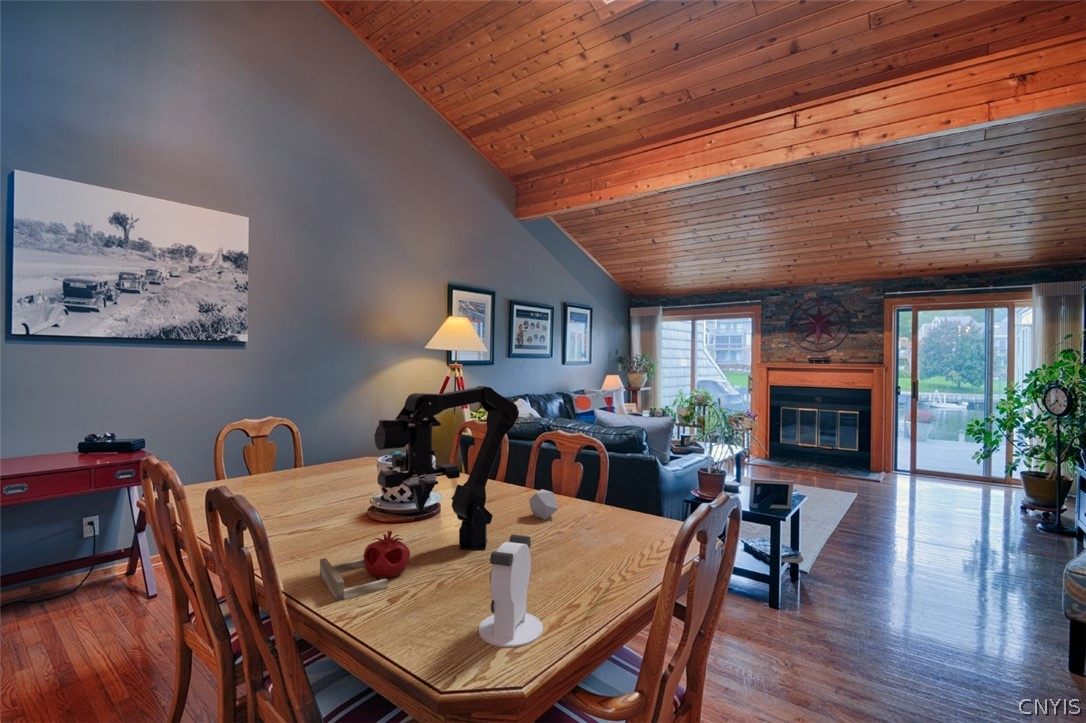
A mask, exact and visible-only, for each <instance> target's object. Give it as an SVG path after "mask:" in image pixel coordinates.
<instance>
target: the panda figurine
mask: <svg viewBox="0 0 1086 723" xmlns="http://www.w3.org/2000/svg"><path fill="white" fill-rule="evenodd" d="M531 545H532V541H531V537H530V535H522V534H521V535H520V534H510V536H509V541H505V542H504V543H503V542H502V544H500V546H499V547H498V548H497V550H496V551H494V550H493V551H492V552H491V554H490V557H489V563H490V564H491V568H490V573H489V584H490V593H491V594H490V595H491V598H492V600H491V604H490V612H491V613H493V614H491V615H489V616H488V617H486V618H484V620H483V621H481V622H480V624H479V627H478V633H479V634H478V635H479V637H480V638H481V639H482V640H483V641H485V643H487V644H489V645H493V646H496V647H499V648H500V647H501V648H517V647H523V646H526V645H529V644H532V643H534V642H535V641H537V640H538V639H539V638H540V637H541V635H542V633H543V631H544V625H543V622H542V621H541V620H540V619H539V618H538V617H536V615H533V614H531V613H528V612H527V595H528V594H527V592H528V590H527V589H528V586H529V582H530V577H531V569H532V558H531V550H530V549H531Z"/></svg>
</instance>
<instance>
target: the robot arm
mask: <svg viewBox="0 0 1086 723" xmlns="http://www.w3.org/2000/svg"><path fill="white" fill-rule="evenodd" d="M476 403H479V405H480V406H481V407H482V409H483V410H484V411H485V412H487V414H486V418H485V419H486V432H485V434H484V437H483V440H482V443H481V445H480V448H479V449H478V452H477V455H476V457H475V460H474V463H473V465H472V469H471V470H470V474H469V477H468V478H467V480H466V482H464V483H463V485H462V484H459V483H458V484H457V485H456V487H455V491H454V494H453V495H452V497H451V498H450V500H451V501H452V502H451V508H452V510H453V513H455V514H456V517H457V519H458V520H459V521H461V525H460V526H459V530H458V531H459V532H458V535H459V536H458V537H459V539H458V544H459V549H460V550H485V549H487V544H488V537H487V535H488V534H487V533H488V532H487V531H488V530H487V528H488V527H487V525H490V524H491V523H492V520H493V514H492V513H491V512H490V511H489V510H488V509H487V508H486V501H487V490H486V486H487V483H488V480H489V477H490V475H491V473H492V470H493V468H494V464H495V461H496V459H497V456H498V453H499V450H500V448H501V445H502V442H503V440H504V437H505V435H507V433H508V432H509V431H510V430H512V429H513V428H514V425H515V424H516V422H517V421H518V418H519V416H520V415H519V414H520V410H519V408H518V406H517V404H516V402H512V401H509V400H508V399H507V398H506V397H504V396H502V395H501V394H500V393H498V392H497V391H496V390H494V389H493V388H492V387H491V386H486V385H485V386H484V385H478V386H477V387H472V388H467V389H466V388H465V389H460V390H459V389H458V390H455V391H454V390H453V391H449V392H443V393H427V392H426V393H424V392H423V393H422V392H421V393H420V392H419V393H418V392H416V393H411V394H409V395H407V397H406V400H405V402H404V406H403V407H402V409H401V410H400V412H399V413H398V415H397V416H396V418H395V419H389V420H388V419H379V421H378V426H377V427H376V429H375V432H374V436H373V437H374V444H375V447H376V449H377V450H378V451H384V450H385V451H386V450H393V449H394V450H395V449H403V448H405V447H406V446H407V448H406V449H405V454H404V455H402V453H397V454H396V453H394V454H392V456H391V467H392V468H393V469H391V470H385V471H380V472H379V473H378V475H377V485H380V487H381V486H382V487H383V488H385V489H390V488H396V487H397V488H398V487H400V486H402V485H403V486H405V487H407V488H408V489H409V492H410V493H411V496H412V499H413V502H414V504H415V508H416V511H418V512H423V510H424V507H425V505H426V504H427V501H428V499H429V496H430V494H431V493H432V491H433V490H434V488H435V486H436V485H439V481H438V480H437V477H442V476H445V477H446V478H447V479H449V480H454V479H459V478H460V477H461V470H460V467H459V466H458V465H455V464H452V463H450V462H447V463H441V464H440V463H439V464H436V466H435V467H433V456H434V455H435V451H436V450H434V449H433V427H440V426H441V425H442V423H441V422H440V421H439V420H438V419H437V418H436V417H435V416H437V415H439V414H441V413H442V412H444V411H446V410H448V409H452V408H457V407H463V406H467V405H472V404H476ZM398 468H399V471H397V470H396V469H398Z"/></svg>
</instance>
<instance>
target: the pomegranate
mask: <svg viewBox="0 0 1086 723" xmlns="http://www.w3.org/2000/svg"><path fill="white" fill-rule="evenodd" d="M392 534H393V531H392V530H390V531H389V530H388V531H387V534H385V533H384V534H383V535H382V536H383V539H382V538H380V537H375V538H374V539H372V541H374V540H377V541H374V542H371V543H369V544H368V545H367V546H366V547H365V548H364V552H363V555H362V556H363V558H364V564H365V567H366V568H365V567H364V568H365V569H366V571H367V573H368V574H369V575H370V576H371V577H373V578H374V577H378V578H386V579H387V578H392V577H393V578H394V577H396V576H399V575H401V574H403V573H404V571H405V569H406V567H407V566H408V564H409V560H410V557H411V550H410V549H409V547H408V546H407V545H406V544H405V543H404V542H402V541H403V540H404V538H399V537H398V536H400V535H401V534H400V533H399V534H396V535H394V536H393V537H392Z"/></svg>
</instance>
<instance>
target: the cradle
mask: <svg viewBox="0 0 1086 723" xmlns="http://www.w3.org/2000/svg"><path fill="white" fill-rule="evenodd" d="M361 568H365V569H366V567H365V564H364V557H363V558H359V559H355V560H354V559H353V560H351V561H346V562H342V563H338V564H334V565H333V564H331V563H330V561H329V560H328V558H326V557H325V558H320V559H319V576H320V578H321V580H322V581H323V582H324V584H325V586H327V588H328V589H329V591H330V592H331V594H332V595H333V597H334V598H335V599H336V601H337V602H340V601H344V600H347V599H351V598H355V597H358V596H362V595H366V594H369V593H373V592H378V591H381V590H384V589H387V588H388V587H389V586H388V584H389V583H388V582H389V580H388V579H387V578H383V579H380V577H373V578H374V579H375V581H371V582H368V583H363V584H360V585H355V586H351V587H348V588H345V581H344V579H343V578H342V577H341V576H340V573H343V572H347V571H352V570H357V569H361Z"/></svg>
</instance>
